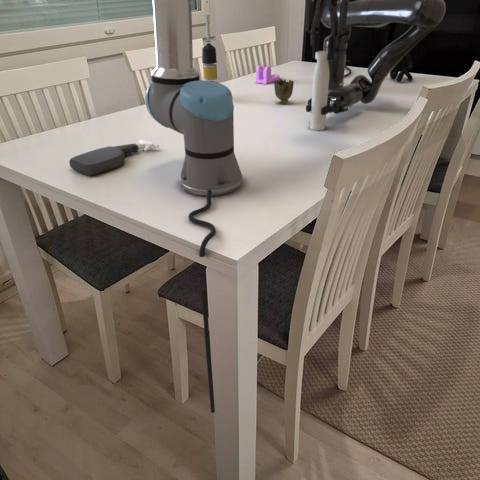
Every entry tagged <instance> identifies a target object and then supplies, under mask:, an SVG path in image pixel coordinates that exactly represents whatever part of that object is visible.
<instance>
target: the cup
mask: <svg viewBox="0 0 480 480" xmlns="http://www.w3.org/2000/svg"><path fill="white" fill-rule="evenodd" d="M294 84H295V81H294V80H293V79H288V81H287V79H282V78H280V79H279V80H276V81H274V82H273V86H274V94H275V97H276V98H277V99H278V103H279V104H280V105H281V104H283V105H284V104H288V102H289V99H290V98H291V97H292V95H293V92H294Z"/></svg>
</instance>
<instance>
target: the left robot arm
mask: <svg viewBox="0 0 480 480" xmlns="http://www.w3.org/2000/svg"><path fill="white" fill-rule="evenodd" d="M337 1H341V5H340V14H339V24H338V14H337V8H338V5H337ZM349 2H351V0H316V4H315V0H305V6H306V7H305V21H304V22H305V23H304V25H305V27H304V31H305V32H306V33H309V34H310V42H309V43H310V47H312V50H311V51H312V52H311V59H312V60H313V59H314V60H316V59H315V53H316V52H317V51H320V40H321V34H320V31H319V29H320V25H321V23H322V21H321V18H322V14H323V10H324V9H325V6H327V7H328V10H329V13H330V23H331V28H330V32H331V34H332V35H331V34H330V35H331V36H330V35H328V36H329V44H328V56H327V60H332V59H334V50H335V48H337V45H338V36H339V35H340V34H343V33H345V29H346V20H347V11H348V4H349ZM152 9H153V11H152V12H153V24H154V25H153V26H154V38H155V39H154V41H155V42H154V43H155V55H156V56H155V58H156V66H155V67H154V69H153V70H152V71H151V72H150V80H151V81H150V83H149V85H148V87H147V88H146V91H145V94H144V95H145V96H144V102H145V107H146V110H147V112H148V113H149V115H150V116H151V118H152V119H153V120H154V121H156V122H157V123H158V124H160V125H161V126H163V127H164V128H167V129H171V130H173V131H175V132H177V133H178V134H180V135H183V141H184V142H183V143H184V154H185V155H184V158H183V164H182V168H181V171H180V176H179V183H180V184H179V185H180V188H181V189H182V191H184V192H186V193H187V194H190V195H194V196H199V197H206V204H205V205H204V206H202V207H200V208H198V209H194V210H192V211H190V212H189V214H188V221H190V222H191V223H193V224H195V225H200V226H203V227H206V228H208V229H210V232H209V233H208V234H207V235H205V237H204V238H203V239H202V241H201V244H200V247H199V255H198V256H199V257H200V258H204V257H205V255H206V254H205V253H206V247H207V244H208V243H209V242H210V240H211V239H212V238H214V236H215V235H216V233H217V229H216V227H215V225H214V224H212V223H210V222H209V221H205V220H201V219H198V218H196V217H195V216H196V215H198V214H202V213H204V212H206V211H208V210H209V209H210V208H211V206H212V197H221V196H224V195H229V194H232V193H234V192H235V191H237V190H239V189H240V188H241V187H242V185H243V174H242V171H241V168H240V165H239V163H238V160H237V157H236V154H235V132H234V131H235V130H234V127H235V126H234V122H235V121H234V110H235V105H234V100H233V94H232V91H231V90H230V89H229V87H227V86H226V85H224V84H223V83H220V82H218V81H215V82H209V81H208V80H200V79H201V78H200V72H199V71H198V70H197V68H195V67H194V55H193V54H194V53H193V52H194V51H193V17H192V16H193V15H192V13H193V11H192V0H152ZM314 10H315V11H314ZM217 82H218V83H217ZM201 302H202V303H201V304H202V317H203V318H202V319H203V329H204V330H203V332H204V344H205V355H206V357H205V358H206V366H207V368H206V369H207V380H208V381H207V382H208V392H209V404H210V405H209V406H210V413H211V414H214V413H216V407H215V405H216V404H215V391H214V380H213V367H212V354H211V353H212V351H211V340H210V325H209V309H208V293H207V291H205V290H204V289H201Z"/></svg>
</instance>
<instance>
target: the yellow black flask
mask: <svg viewBox="0 0 480 480" xmlns="http://www.w3.org/2000/svg"><path fill="white" fill-rule="evenodd" d="M210 17H211V14H204V18H205V27H206V29H205V30H206V31H205V33H206V39H207V40H206V42H207V43H206V45H204V46H202V49H201V50H202V51H201V52H202V54H201V55H202V57H201V58H202V61H201V63H202V71H203V72H202V73H203V74H202V75H203V81H209V82H217V83H219V82H218V81H216V80H218V64H216V63H218V61H217V48H216V47H215V46H214V45H212V43H210V42H211V40H210V39H211V31H210V29H211V28H210Z"/></svg>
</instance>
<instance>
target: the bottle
mask: <svg viewBox="0 0 480 480" xmlns="http://www.w3.org/2000/svg"><path fill="white" fill-rule="evenodd" d="M329 72H330V71H329V63H328V60H317V59H316V63H315V66H314V70H313V78H312V91H311V94H312V95H311V98H312V105H311V111H310V121H309V128H310V130H313V131H324V130H325V129H326V120H327V114H325V115H321V108H322V107H325V106H327V98H328V86H329V75H330V74H329Z"/></svg>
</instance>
